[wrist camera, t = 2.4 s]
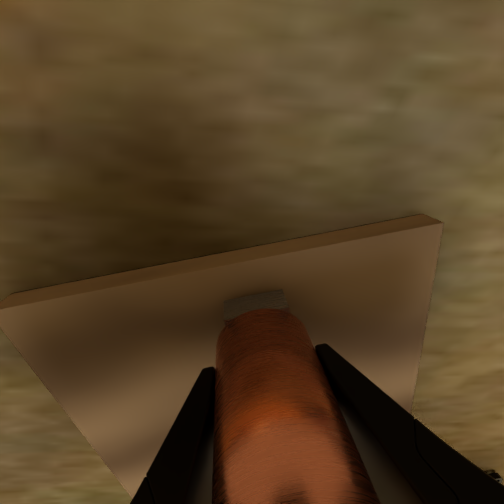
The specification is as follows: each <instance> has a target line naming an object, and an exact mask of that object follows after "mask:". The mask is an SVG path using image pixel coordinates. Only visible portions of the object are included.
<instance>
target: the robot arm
mask: <svg viewBox="0 0 504 504" xmlns="http://www.w3.org/2000/svg"><path fill="white" fill-rule="evenodd" d="M315 351H316V353H317V356H318V358H319V360H320V363H321V365H322V367H323V370H324V372H325V374H326V377H327V379H328V381H329V384H330V386H331V388H332V391H333V393H334V395H335V398H336V400H337V402H338V405H339V407H340V409H341V412H342V414H343V416H344V419H345V421H346V423H347V426H348V428H349V430H350V433H351V435H352V437H353V440H354V442H355V444H356V447H357V449H358V451H359V454H360V456H361V458H362V461H363V463H364V465H365V468H366V470H367V472H368V475H369V477H370V480H371V482H372V484H373V487H374V489H375V491H376V494H377V496H378V498H379V501H380V503H381V504H504V485H502V484H501V482H502V480H503V479H502V478H501V476H500V475H499V474H498V473H491V474H487V473H486V472H484V471H483V470H481V469H480V468H479V467H477V466H476V465H474V464H473V463H472V462H470V461H469V460H468V459H466V458H465V457H464V456H462V455H461V454H460V453H458V452H457V451H456V450H454V449H453V448H452V447H450V446H449V445H448V444H446V443H445V442H444V441H443V440H441V439H440V438H439V437H438V436H436V435H435V434H434V433H433V432H431V431H430V430H429V429H428V428H427V427H425V426H424V425H423V424H422V423H421V422H420V421H418V420H417V419H414V417H413V416H412V415H411V414H410V413H409V412H408V411H406V410H405V409H404V408H403V407H402V406H400V405H399V404H398V403H397V402H396V401H394V400H393V399H392V398H391V397H390V396H388V395H387V394H386V393H385V392H384V391H383V390H381V389H380V388H379V387H378V386H377V385H375V384H374V383H373V382H372V381H371V380H369V379H368V378H367V377H366V376H365V375H364V374H362V373H361V372H360V371H359V370H358V369H356V368H355V367H354V366H353V365H352V364H350V363H349V362H348V361H347V360H346V359H345V358H343V357H342V356H341V355H340V354H339V353H337V352H336V351H335V350H334V349H333V348H331V347H330V346H329V345H328V344H326V343H323V344H318V345H316V346H315ZM214 403H215V368H214V367H213V366H211V367H206V368H203V369H202V370H201V372H200V374H199V376H198V378H197V380H196V382H195V383H194V385H193V387H192V389H191V391H190V393H189V395H188V397H187V398H186V400H185V402H184V404H183V406H182V408H181V410H180V412H179V413H178V415H177V417H176V419H175V421H174V423H173V425H172V427H171V428H170V430H169V432H168V434H167V436H166V438H165V440H164V442H163V443H162V445H161V447H160V449H159V451H158V453H157V455H156V457H155V458H154V460H153V462H152V464H151V466H150V468H149V470H148V472H147V473H146V477H144V479H143V481H142V483H141V484H140V486H139V488H138V490H137V492H136V494H135V496H134V497H133V499H132V501H131V503H130V504H212V475H213V439H214Z"/></svg>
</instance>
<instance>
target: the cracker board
mask: <svg viewBox="0 0 504 504" xmlns="http://www.w3.org/2000/svg"><path fill="white" fill-rule="evenodd" d="M443 225H444V223H443V222H441V221H439V220H436V219H434V218H431V217H429V216H426V215H424V214H420V215H415V216H410V217H405V218H399V219H394V220H389V221H384V222H379V223H374V224H369V225H363V226H358V227H353V228H348V229H343V230H338V231H332V232H327V233H322V234H317V235H312V236H307V237H302V238H296V239H291V240H286V241H281V242H276V243H271V244H265V245H260V246H255V247H250V248H245V249H240V250H235V251H229V252H224V253H219V254H214V255H209V256H204V257H198V258H193V259H188V260H183V261H178V262H173V263H168V264H162V265H157V266H152V267H147V268H142V269H137V270H131V271H126V272H121V273H116V274H111V275H106V276H101V277H95V278H90V279H85V280H80V281H75V282H70V283H64V284H59V285H54V286H49V287H44V288H39V289H34V290H28V291H23V292H18V293H13V294H10V295H9V296H8V297H6V298H5V299H4V300H3V301H1V302H0V328H1V329H2V331H3V332H4V333H5V335H6V336H7V337H8V338H9V340H10V341H11V342H12V344H13V345H14V346H15V347H16V349H17V350H18V351H19V353H20V354H21V355H22V357H23V358H24V359H25V360H26V362H27V363H28V364H29V366H30V367H31V368H32V369H33V371H34V372H35V373H36V375H37V376H38V377H39V378H40V380H41V381H42V382H43V384H44V385H45V386H46V388H47V389H48V390H49V391H50V393H51V394H52V395H53V397H54V398H55V399H56V400H57V402H58V403H59V404H60V406H61V407H62V408H63V410H64V411H65V412H66V413H67V415H68V416H69V417H70V419H71V420H72V421H73V422H74V424H75V425H76V426H77V428H78V429H79V430H80V432H81V433H82V434H83V435H84V437H85V438H86V439H87V441H88V442H89V443H90V444H91V446H92V447H93V448H94V450H95V451H96V452H97V453H98V455H99V456H100V457H101V459H102V460H103V461H104V463H105V464H106V465H107V466H108V468H109V469H110V470H111V472H112V473H113V474H114V475H115V477H116V478H117V479H118V481H119V482H120V483H121V485H122V486H123V487H124V488H125V490H126V491H127V492H128V494H129V495H130V496H131V497H132V499H133V497H134V496H135V494H136V492H137V490H138V488H139V486H140V484H141V483H142V481H143V479H144V477H146V473H147V472H148V470H149V468H150V466H151V464H152V462H153V460H154V458H155V457H156V455H157V453H158V451H159V449H160V447H161V445H162V443H163V442H164V440H165V438H166V436H167V434H168V432H169V430H170V428H171V427H172V425H173V423H174V421H175V419H176V417H177V415H178V413H179V412H180V410H181V408H182V406H183V404H184V402H185V400H186V398H187V397H188V395H189V393H190V391H191V389H192V387H193V385H194V383H195V382H196V380H197V378H198V376H199V374H200V372H201V370H202V369H203V368H206V367H211V366H213V367H214V368H215V367H216V343H217V339H218V336H219V334H220V332H221V331H222V330H223V328H224V327H225V323H224V301H225V300H230V299H235V298H240V297H245V296H250V295H255V294H260V293H265V292H270V291H275V290H280V289H282V290H283V293H284V295H285V298H286V301H287V303H288V306H289V311H290V313H291V314H293V315H294V316H296V317H297V318H298V319H299V320H300V321H301V322H302V323H303V324H304V326H305V328H306V330H307V332H308V334H309V337H310V339H311V341H312V344H313V346H314V348H315V346H316V345H318V344H323V343H326V344H328V345H329V346H330V347H331V348H333V349H334V350H335V351H336V352H337V353H339V354H340V355H341V356H342V357H343V358H345V359H346V360H347V361H348V362H349V363H350V364H352V365H353V366H354V367H355V368H356V369H358V370H359V371H360V372H361V373H362V374H364V375H365V376H366V377H367V378H368V379H369V380H371V381H372V382H373V383H374V384H375V385H377V386H378V387H379V388H380V389H381V390H383V391H384V392H385V393H386V394H387V395H388V396H390V397H391V398H392V399H393V400H394V401H396V402H397V403H398V404H399V405H400V406H402V407H403V408H404V409H405V410H406V411H408V412H409V413H410V414H411V409H412V403H413V397H414V392H415V386H416V380H417V374H418V369H419V363H420V357H421V351H422V346H423V340H424V334H425V328H426V323H427V317H428V311H429V305H430V300H431V294H432V288H433V282H434V277H435V271H436V265H437V259H438V254H439V248H440V242H441V236H442V231H443Z"/></svg>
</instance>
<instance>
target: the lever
mask: <svg viewBox="0 0 504 504" xmlns="http://www.w3.org/2000/svg"><path fill="white" fill-rule="evenodd" d="M224 323H225V327H224V328H223V330H222V331H221V332H220V334H219V336H218V339H217V343H216V367H215V403H214V439H213V475H212V504H381V503H380V501H379V498H378V496H377V494H376V491H375V489H374V487H373V484H372V482H371V480H370V477H369V475H368V472H367V470H366V468H365V465H364V463H363V461H362V458H361V456H360V454H359V451H358V449H357V447H356V444H355V442H354V440H353V437H352V435H351V433H350V430H349V428H348V426H347V423H346V421H345V419H344V416H343V414H342V412H341V409H340V407H339V405H338V402H337V400H336V398H335V395H334V393H333V391H332V388H331V386H330V384H329V381H328V379H327V377H326V374H325V372H324V370H323V367H322V365H321V363H320V360H319V358H318V356H317V353H316V351H315V348H314V346H313V344H312V341H311V339H310V337H309V334H308V332H307V330H306V328H305V326H304V324H303V323H302V322H301V321H300V320H299V319H298V318H297V317H296V316H294V315H293V314H291V313H290V311H289V306H288V303H287V301H286V298H285V295H284V293H283V290H282V289H280V290H275V291H270V292H265V293H260V294H255V295H250V296H245V297H240V298H235V299H230V300H225V301H224Z"/></svg>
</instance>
